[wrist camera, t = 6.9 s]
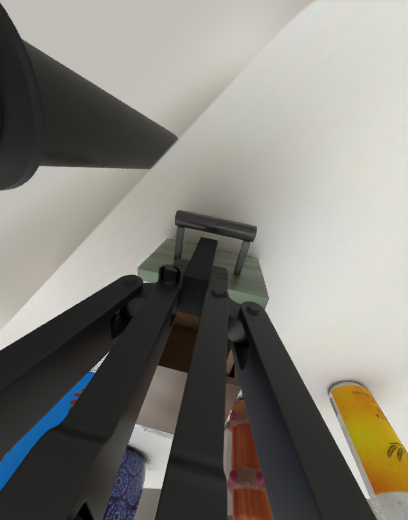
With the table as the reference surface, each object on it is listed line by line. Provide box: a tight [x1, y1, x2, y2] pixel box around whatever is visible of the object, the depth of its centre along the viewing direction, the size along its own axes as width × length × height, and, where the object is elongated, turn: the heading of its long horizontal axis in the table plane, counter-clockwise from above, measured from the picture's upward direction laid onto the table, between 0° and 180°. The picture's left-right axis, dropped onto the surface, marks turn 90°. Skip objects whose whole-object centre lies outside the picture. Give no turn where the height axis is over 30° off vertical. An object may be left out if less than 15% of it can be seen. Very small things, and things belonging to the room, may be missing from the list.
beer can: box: [329, 382, 408, 520], centre depth 24 cm, size 6×6×15 cm
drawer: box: [138, 210, 269, 376], centre depth 21 cm, size 18×11×8 cm, turn 170°
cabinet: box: [136, 359, 241, 434], centre depth 27 cm, size 15×13×10 cm
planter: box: [102, 448, 145, 520], centre depth 51 cm, size 16×17×15 cm
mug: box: [227, 399, 273, 520], centre depth 29 cm, size 15×8×15 cm, turn 117°
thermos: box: [0, 372, 94, 491], centre depth 31 cm, size 11×11×25 cm
